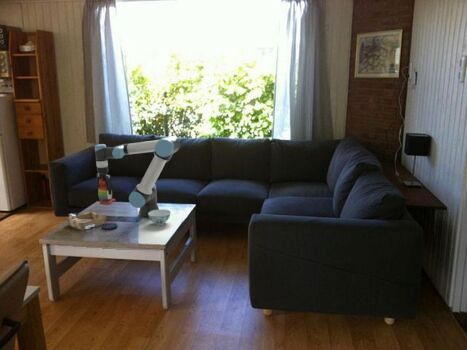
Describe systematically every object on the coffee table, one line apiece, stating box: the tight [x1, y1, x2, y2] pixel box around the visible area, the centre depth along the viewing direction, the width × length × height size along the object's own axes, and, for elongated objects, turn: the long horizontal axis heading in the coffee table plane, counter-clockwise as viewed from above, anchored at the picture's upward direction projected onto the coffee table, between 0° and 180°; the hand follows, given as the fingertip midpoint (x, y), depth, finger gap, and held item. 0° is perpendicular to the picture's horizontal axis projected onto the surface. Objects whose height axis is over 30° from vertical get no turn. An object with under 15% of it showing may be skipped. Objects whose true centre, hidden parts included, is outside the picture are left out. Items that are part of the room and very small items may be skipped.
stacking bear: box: [97, 179, 116, 206], centre depth 292 cm, size 11×10×18 cm
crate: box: [67, 210, 107, 232], centre depth 284 cm, size 18×18×5 cm
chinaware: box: [148, 208, 171, 226], centre depth 284 cm, size 15×15×8 cm
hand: (105, 197), depth 293 cm, fingers closed on stacking bear, 9 cm apart
